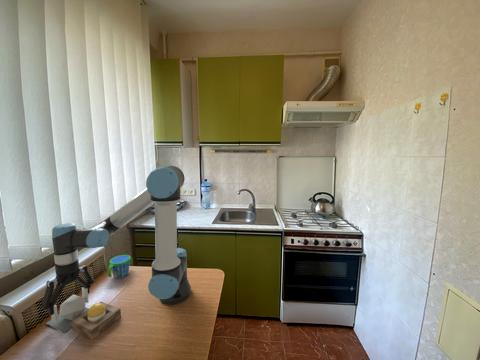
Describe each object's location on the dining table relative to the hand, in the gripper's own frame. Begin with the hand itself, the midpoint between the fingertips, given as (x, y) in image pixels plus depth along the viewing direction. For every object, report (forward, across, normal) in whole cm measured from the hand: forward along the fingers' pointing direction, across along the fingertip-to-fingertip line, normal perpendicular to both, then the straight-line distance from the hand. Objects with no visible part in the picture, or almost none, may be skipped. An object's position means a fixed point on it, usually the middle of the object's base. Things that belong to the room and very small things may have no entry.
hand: (71, 310), depth 88 cm
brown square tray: (+4, -2, +13) cm, 14 cm away
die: (+3, 0, 0) cm, 3 cm away
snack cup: (+4, -31, -9) cm, 32 cm away
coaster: (+4, 0, 0) cm, 4 cm away
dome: (+2, -2, +13) cm, 13 cm away
